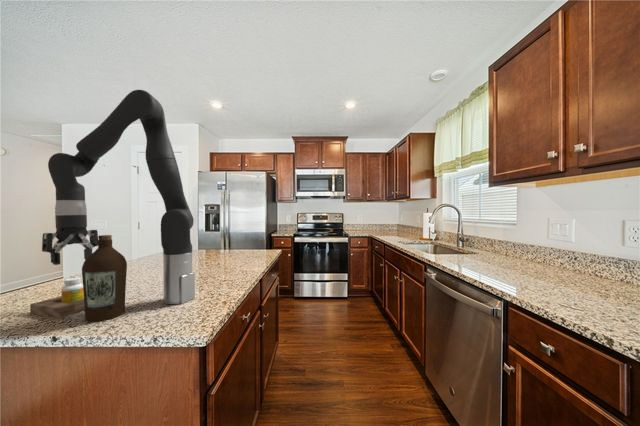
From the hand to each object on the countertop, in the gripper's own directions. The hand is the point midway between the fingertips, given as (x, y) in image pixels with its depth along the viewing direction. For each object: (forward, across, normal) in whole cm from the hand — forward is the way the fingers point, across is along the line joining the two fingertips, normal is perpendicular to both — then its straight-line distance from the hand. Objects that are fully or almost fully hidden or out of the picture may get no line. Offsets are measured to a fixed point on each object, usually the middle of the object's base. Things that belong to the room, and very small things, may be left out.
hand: (73, 261), depth 84 cm
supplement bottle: (+16, 0, 0) cm, 16 cm away
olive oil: (+16, -2, -18) cm, 24 cm away
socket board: (+15, 0, 0) cm, 16 cm away
